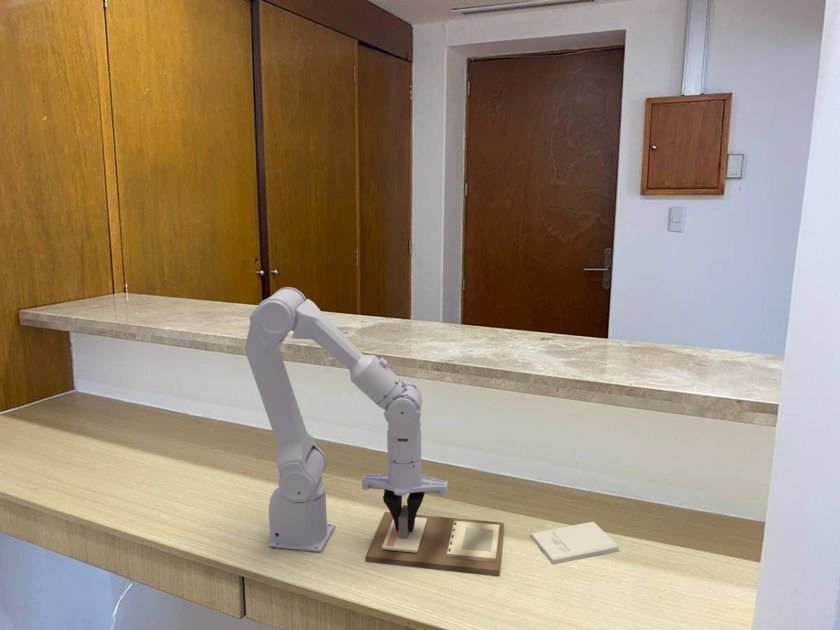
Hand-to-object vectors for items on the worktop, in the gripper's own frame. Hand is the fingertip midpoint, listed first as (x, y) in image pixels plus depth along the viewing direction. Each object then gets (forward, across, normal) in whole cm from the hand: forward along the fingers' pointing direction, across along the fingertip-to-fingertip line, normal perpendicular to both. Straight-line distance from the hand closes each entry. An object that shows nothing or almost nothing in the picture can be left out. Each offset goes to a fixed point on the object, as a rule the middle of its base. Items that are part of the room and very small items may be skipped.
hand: (405, 528), depth 110 cm
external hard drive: (+3, +29, +4) cm, 29 cm away
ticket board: (+2, +6, 0) cm, 6 cm away
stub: (+1, 0, 0) cm, 1 cm away
